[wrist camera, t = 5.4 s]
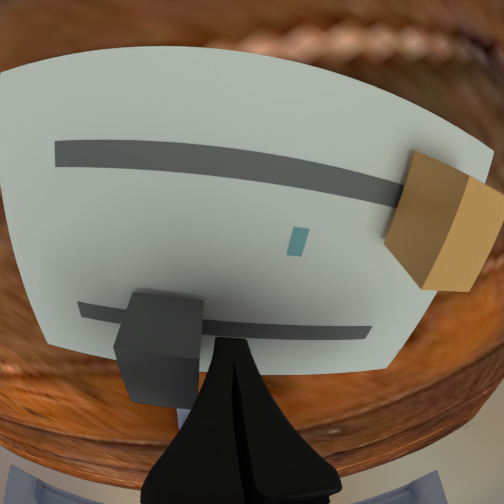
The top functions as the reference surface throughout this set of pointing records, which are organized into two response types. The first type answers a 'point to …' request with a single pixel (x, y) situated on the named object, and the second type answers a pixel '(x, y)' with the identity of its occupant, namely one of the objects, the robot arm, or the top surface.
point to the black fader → (160, 349)
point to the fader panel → (217, 200)
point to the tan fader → (444, 225)
